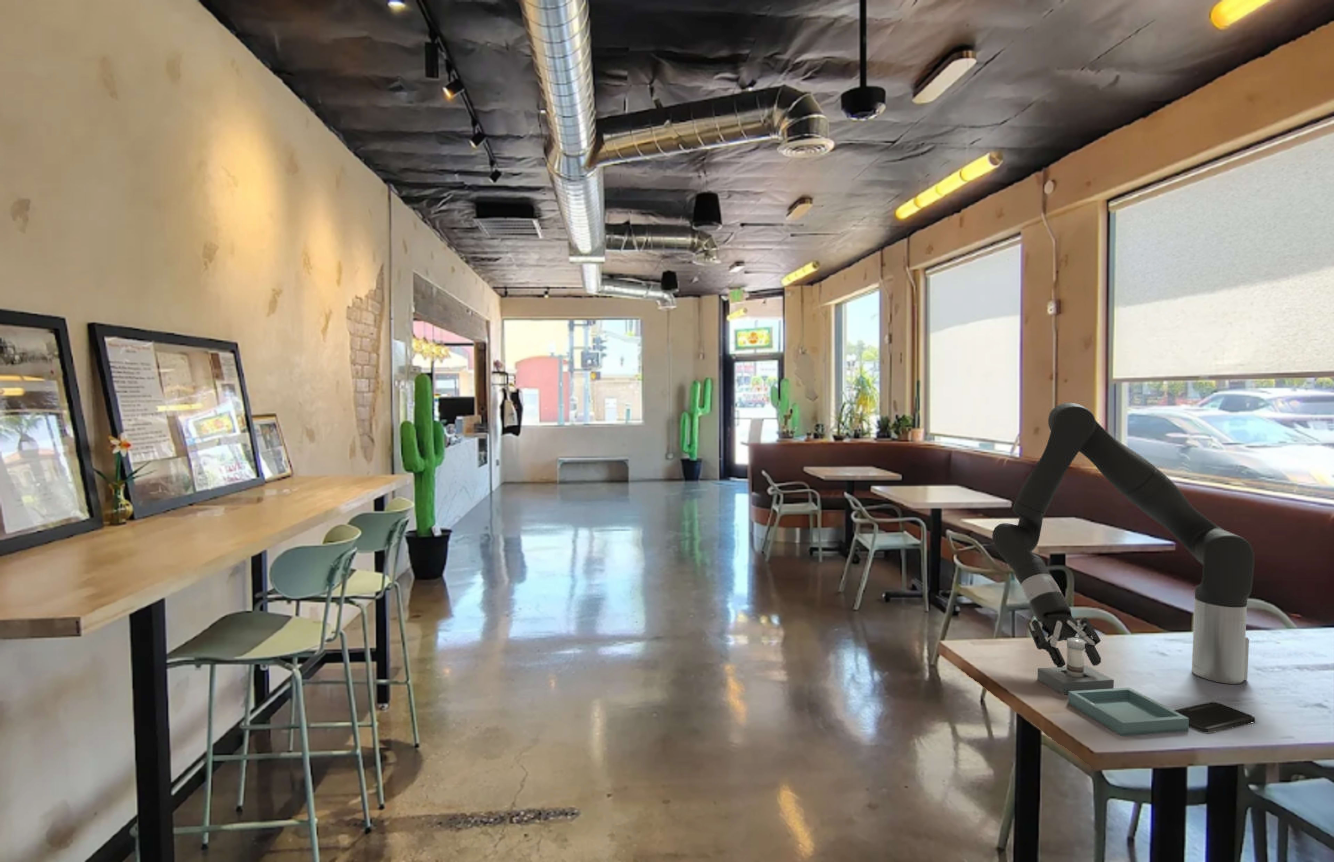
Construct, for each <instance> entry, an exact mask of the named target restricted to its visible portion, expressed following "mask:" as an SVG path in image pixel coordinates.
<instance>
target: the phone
mask: <svg viewBox="0 0 1334 862" xmlns="http://www.w3.org/2000/svg"><path fill="white" fill-rule="evenodd" d="M1173 710H1174V711H1176V712H1178V713H1180V714H1181V715H1183V716H1185V717H1187V718H1189V727H1188V728H1191V729H1193V730H1196V731H1198V732H1200V731H1201V733H1203V732H1212V733H1215V732H1214V731H1217V732H1220V731H1219V730H1221V731H1225V730H1230V729H1233V728H1238V727H1242V726H1245V725H1244V724H1246V725H1249V724H1248V723H1251V722H1254V723H1256V717H1255V716H1253V715H1251V714H1248V713H1246V712H1244V711H1241V710H1239V709H1238V710H1237V709H1235V708H1233V707H1230V706H1228V705H1225V704H1223V703H1220V702H1215V701H1211V702H1207V703H1206V702H1205V703H1200V704H1196V705H1191V706H1186V707H1183V708H1178V709H1173ZM1251 724H1252V723H1251ZM1241 725H1242V726H1241ZM1237 726H1238V727H1237ZM1232 727H1233V728H1232Z"/></svg>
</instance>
